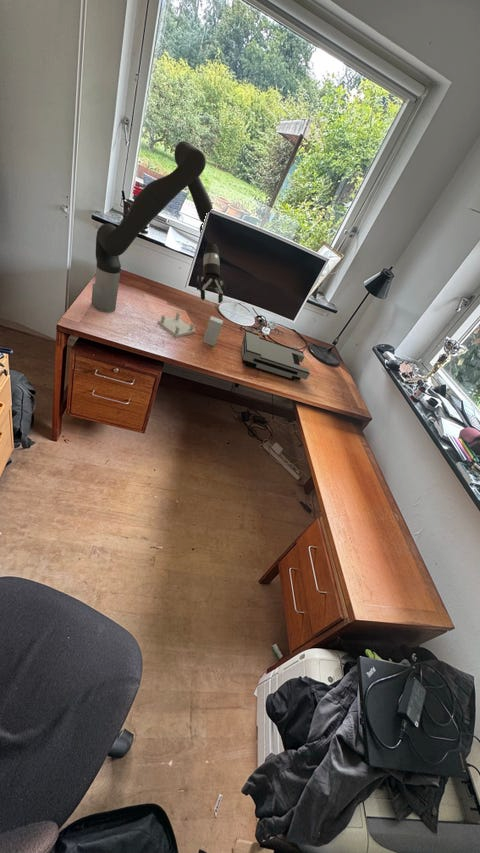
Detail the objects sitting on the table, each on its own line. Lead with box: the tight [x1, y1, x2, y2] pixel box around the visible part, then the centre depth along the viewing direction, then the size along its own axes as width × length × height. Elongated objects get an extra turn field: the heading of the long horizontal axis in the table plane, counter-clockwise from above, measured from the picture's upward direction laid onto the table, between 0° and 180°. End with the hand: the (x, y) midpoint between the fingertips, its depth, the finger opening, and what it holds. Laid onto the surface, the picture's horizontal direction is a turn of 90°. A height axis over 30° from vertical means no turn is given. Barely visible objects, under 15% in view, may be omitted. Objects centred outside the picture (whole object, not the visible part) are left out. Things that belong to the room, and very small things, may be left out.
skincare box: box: [202, 315, 224, 347], centre depth 158 cm, size 6×4×12 cm
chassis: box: [157, 312, 196, 338], centre depth 159 cm, size 12×12×4 cm
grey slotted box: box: [241, 329, 310, 382], centre depth 166 cm, size 21×32×8 cm, turn 91°
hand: (211, 301), depth 158 cm, fingers open, 8 cm apart
